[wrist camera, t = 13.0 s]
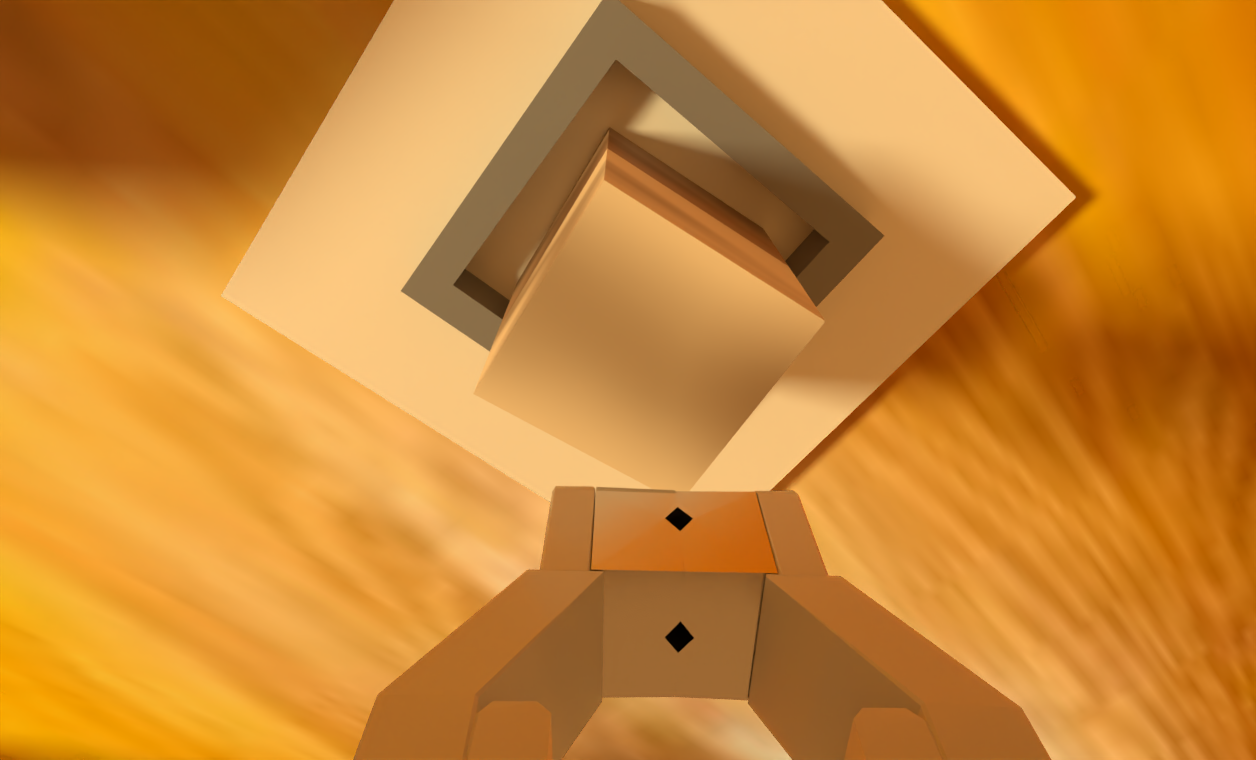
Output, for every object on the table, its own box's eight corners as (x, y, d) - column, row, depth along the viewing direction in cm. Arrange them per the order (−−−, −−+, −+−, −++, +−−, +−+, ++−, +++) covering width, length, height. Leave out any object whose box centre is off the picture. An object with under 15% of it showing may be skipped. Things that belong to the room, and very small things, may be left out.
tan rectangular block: (663, 367, 22) (679, 503, 16) (516, 282, 21) (473, 393, 15) (763, 228, 21) (825, 321, 14) (609, 126, 19) (604, 180, 13)
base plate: (673, 558, 27) (678, 611, 25) (239, 282, 22) (193, 314, 20) (1053, 188, 21) (1108, 210, 19) (578, -289, 17) (570, -341, 14)
